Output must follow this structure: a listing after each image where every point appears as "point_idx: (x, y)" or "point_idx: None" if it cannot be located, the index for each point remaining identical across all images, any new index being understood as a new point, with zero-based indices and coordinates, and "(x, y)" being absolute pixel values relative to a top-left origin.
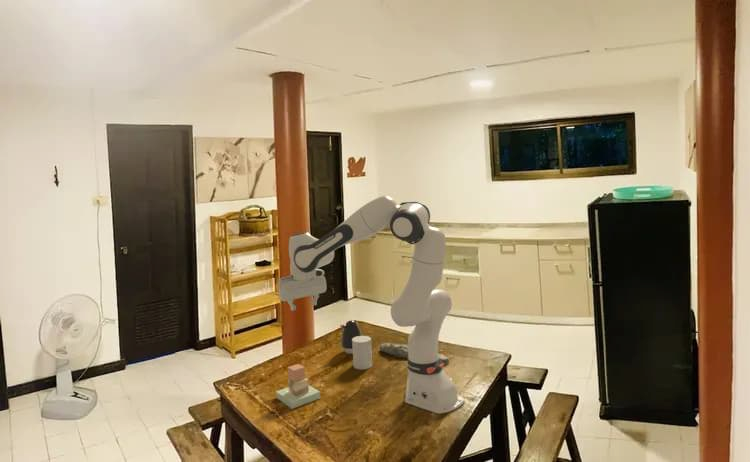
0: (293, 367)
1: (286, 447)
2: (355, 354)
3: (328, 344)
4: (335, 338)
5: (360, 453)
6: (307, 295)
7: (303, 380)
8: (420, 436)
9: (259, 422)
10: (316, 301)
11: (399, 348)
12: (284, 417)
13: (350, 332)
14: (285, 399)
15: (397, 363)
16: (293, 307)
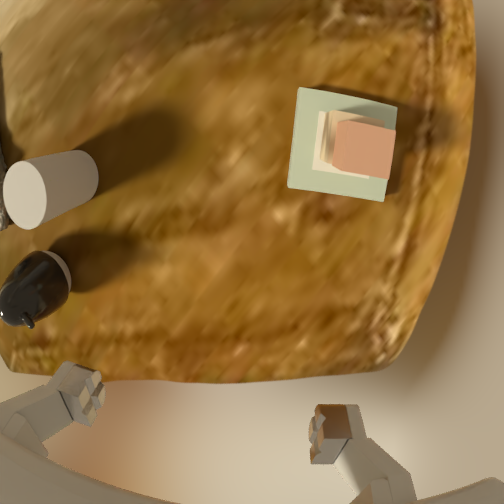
0: (378, 157)
1: (470, 13)
2: (73, 181)
3: (84, 349)
4: (61, 358)
5: None
6: (127, 501)
7: (350, 116)
8: None
9: (467, 129)
10: (50, 382)
11: None
12: (424, 93)
13: (26, 287)
14: None
15: (22, 125)
16: (356, 427)
